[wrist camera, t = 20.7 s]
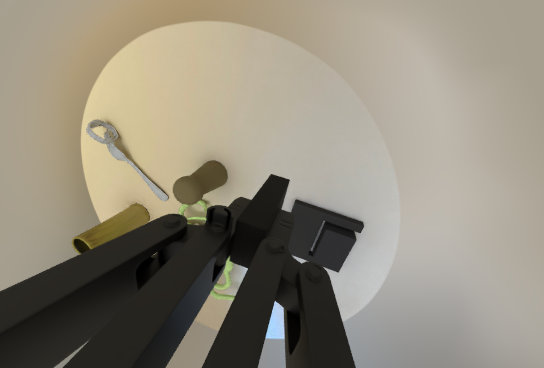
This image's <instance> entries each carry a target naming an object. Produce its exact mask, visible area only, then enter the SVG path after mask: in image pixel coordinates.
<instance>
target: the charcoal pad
mask: <svg viewBox="0 0 544 368" xmlns="http://www.w3.org/2000/svg"><path fill="white" fill-rule="evenodd" d="M355 242H356V236H355V232H354V231H353V230H350V229H347V228H344V227H341V226H338V225H335V224H332V223H330V222H327V221H326V222H325V224H324V226H323V229H322V231H321V233H320V235H319V237H318V240H317V242H316V244H315V246H314V249H313V259H315V260H318V261H321V262H323V263H326V264H329V265H331V266H334V267H337V268H339V269H340V268H341V267H342V265H343V263H344V261H345V260H346V258H347V256H348V254H349V252H350V251H351V249H352V247H353V245H354V243H355Z"/></svg>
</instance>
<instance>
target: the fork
mask: <svg viewBox="0 0 544 368" xmlns="http://www.w3.org/2000/svg"><path fill="white" fill-rule="evenodd" d="M107 132H108V129H107V131H106V132H105V134H104V137H105V135H106V134H107ZM108 136H109V137H108ZM107 137H108V138H107ZM109 138H110V139H111V137H110V134H109V132H108V134H107V135H106V137H105V139H107V140H109ZM110 145H111V146H110ZM112 145H113V146H112ZM107 147H108V149H109V151H110V153H111V155H112V156H113V157H114V158H116V159H117V160H120V161H126V162H128V163H129V164H130V165H131V166H132V167H133V168H134V169H135V170H136V171H137V172H138V173H139V174H140V176H141V177H142V178H143V179H144V181H145V182H146V183H147V184H148V186H149V187H150V188H151V190H152V191H153V192H154V193H155V194H156V196H157V197H158V198H160V199H161V200H162V201H167V200H168V196H167V195H166V194H165V193H164V192H163V191H161V190H160V189H159V188H158V187H157V186H156V185H155V184H154V183H153V182H151V181H150V180H149V179H148V178H147V177H146V176H145V175H144V174H143V173H142V172H141V171H140V170H139V169H138V168H137V167H136V166H135V165H134V164H133V163H132V162H131V161H130V160H128V159H127V158H126V157H125V155H124V154H123V153H122V152H121V151H120V150H118V149H117V148H116V146H115V145H114V143H110V144H107Z"/></svg>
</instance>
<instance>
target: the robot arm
mask: <svg viewBox="0 0 544 368" xmlns="http://www.w3.org/2000/svg"><path fill="white" fill-rule="evenodd" d="M289 181H290V180H289V179H286V178H282V177H279V176H276V175H273V174H271V175H270V176H269V178H268V179H267V180H266V182H265V183H264V184H263V186H262V187H261V188H260V190H259V191H258V192H257V194H256V195H255V196H254V198H253V199H252V200H249V199H246V198H243V197H240V198H237V199H235V200H234V201H233V202H232V203H231V204H230V205H229V206H228V207H226V206H222V205H215V206H211V207H209V208H208V209H207V216H206V223H205V224H204V225H194V224H188V222H187V218H186V217H184V216H183V215H180V214H168V215H164V216H162V217H160V218H157V219H155V220H153V221H151V222H149V223H147V224H145V225H142V226H140V227H138V228H136V229H134V230H132V231H129V232H127V233H125V234H123V235H121V236H119V237H117V238H114V239H112V240H110V241H108V242H106V243H104V244H101V245H99V246H97V247H95V248H93V249H91V250H89V251H86V252H84V253H82V254H80V255H78V256H76V257H74V258H71V259H69V260H67V261H65V262H63V263H61V264H59V265H56V266H54V267H52V268H50V269H48V270H46V271H43V272H41V273H39V274H37V275H35V276H33V277H31V278H29V279H26V280H24V281H22V282H20V283H18V284H15V285H13V286H11V287H9V288H7V289H5V290H2V291H0V368H54V367H55V366H56V365H58V364H59V363H60V362H61V361H63V360H64V359H65V358H67V357H68V356H69V355H70V354H72V353H73V352H74V351H75V350H77V349H78V348H79V347H81V346H82V345H83V344H85V343H86V342H87V341H88V342H87V344H86V345H84V347H83V348H82V349H81V350H80V351H79V352H78V353H77V354H76V355H75V356H74V357H73V358H72V359H71V360H70V361H69V362H68V363H67V364H66V365H65V366H64V367H63V368H165V367H166V366H167V364H168V362H169V361H170V359H171V357H172V356H173V354H174V352H175V351H176V349H177V347H178V346H179V344H180V343H181V341H182V339H183V338H184V336H185V334H186V332H187V330H188V329H189V328H190V326H191V324H192V323H193V321H194V319H195V318H196V316H197V314H198V313H199V311H200V309H201V308H202V306H203V304H204V303H205V301H206V299H207V298H208V296H209V294H210V293H211V291H212V289H213V288H214V286H215V284H216V283H217V281H218V279H219V278H220V276H221V274H222V273H223V271H224V269H225V266H226V261H227V259H228V258H229V256H230V260H229V261H230V262H233V263H235V264H238V265H240V266H243V267H246V268H248V270H247V272H246V274H245V277H244V279H243V281H242V283H241V285H240V287H239V289H238V291H237V294H236V296H235V298H234V300H233V302H232V304H231V306H230V309H229V311H228V313H227V315H226V317H225V319H224V321H223V323H222V326H221V328H220V330H219V332H218V334H217V337H216V338H215V341H214V343H213V345H212V347H211V349H210V351H209V353H208V356H207V358H206V360H205V362H204V364H203V366H202V368H258V364H259V359H260V356H261V352H262V348H263V344H264V340H265V337H266V333H267V329H268V325H269V321H270V317H271V314H272V310H273V306H274V302H275V301H276V302H277V303H279V304H280V305H281V306H282V307H284V329H285V354H286V368H356V367H355V364H354V361H353V357H352V353H351V350H350V346H349V343H348V339H347V336H346V333H345V329H344V326H343V322H342V319H341V315H340V312H339V308H338V305H337V301H336V298H335V294H334V291H333V287H332V284H331V280H330V277H329V275H328V273H327V271H326V270H325V269H324V268H323V267H322V266H320V265H319V264H317V263H314V262H304V263H302V264H301V263H300V262H298V261H297V260H296V259H294V258H293V257H292V255H291V254H290V252H289V249H288V245H289V241H290V237H291V234H292V230H293V226H294V222H295V217H294V214H293V213H290V212H287V211H284V210H281V209H282V205H283V202H284V198H285V195H286V191H287V188H288V185H289ZM155 253H156V254H155ZM153 254H155V255H153Z"/></svg>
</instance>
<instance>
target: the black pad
mask: <svg viewBox="0 0 544 368" xmlns="http://www.w3.org/2000/svg"><path fill="white" fill-rule="evenodd" d="M291 213H293V214H294V217H295V222H294V226H293V230H292V234H291V237H290V241H289V245H288V249H289V252H290V254H291V255H293V256H296V257H299V258H301V259H304V260H307V261H309V262H314V263H317V264H319V265H320V266H323V267H325V268H328V269H331V270H333V271H336V272H339V270H340V269H341V268H340V269H339V268H337V267H334V266H331V265H329V264H326V263H323V262H321V261H318V260H315V259H313V252H312V251H310V249H311V247H312V245H313V242H314V240H315V238H316V236H317V233H318V231H319V229H320V227H321V224H322V222H323V220H324V221H327V222H330V223H332V224H335V225H338V226H341V227H344V228H347V229H350V230H353V231H355V232H358V233H361V231H362V230H363V228H364V224H363V222H361V221H358V220H355V219H352V218H349V217H346V216H343V215H340V214H337V213H334V212H331V211H328V210H325V209H322V208H319V207H316V206H313V205H311V204H308V203H305V202H302V201H299V200H295V203H294V206H293V209H292V212H291Z"/></svg>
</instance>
